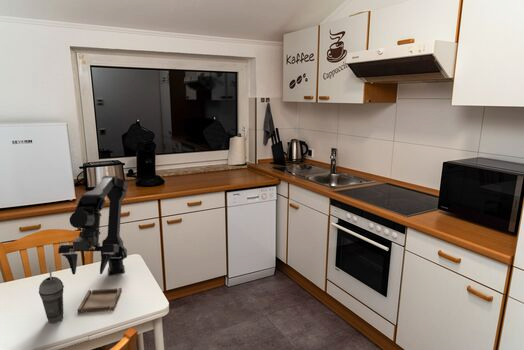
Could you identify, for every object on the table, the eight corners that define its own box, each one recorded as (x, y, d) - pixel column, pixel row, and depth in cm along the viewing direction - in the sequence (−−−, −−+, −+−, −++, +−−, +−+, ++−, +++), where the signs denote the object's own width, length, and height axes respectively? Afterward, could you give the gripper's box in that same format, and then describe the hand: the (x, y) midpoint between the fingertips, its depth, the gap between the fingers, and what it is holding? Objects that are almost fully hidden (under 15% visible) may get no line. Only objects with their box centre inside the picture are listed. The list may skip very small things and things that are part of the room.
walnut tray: (88, 293, 136) (88, 290, 136) (121, 291, 138) (121, 288, 138) (77, 313, 125) (77, 309, 124) (114, 310, 126) (113, 306, 126)
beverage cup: (60, 310, 126) (52, 258, 121) (72, 317, 123) (65, 264, 118) (39, 321, 120) (30, 267, 115) (51, 329, 117) (42, 274, 112)
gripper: (51, 228, 119) (47, 277, 116) (109, 228, 120) (106, 276, 117) (67, 229, 130) (64, 273, 127) (120, 228, 131) (117, 272, 128)
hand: (87, 274), depth 124 cm, fingers open, 9 cm apart
